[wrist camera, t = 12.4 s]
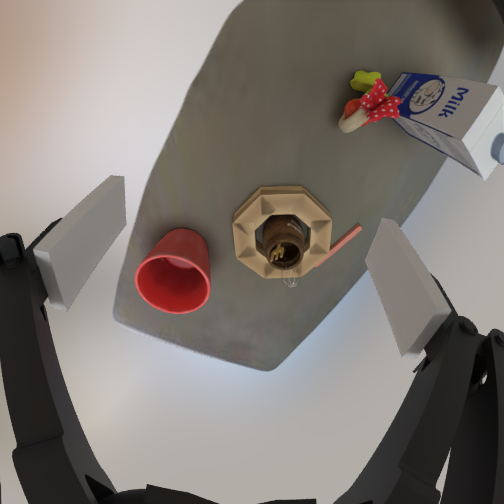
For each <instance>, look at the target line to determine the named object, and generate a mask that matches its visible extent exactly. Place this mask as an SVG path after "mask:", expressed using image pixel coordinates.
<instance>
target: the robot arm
mask: <svg viewBox="0 0 504 504" xmlns="http://www.w3.org/2000/svg"><path fill="white" fill-rule="evenodd" d="M492 1H493V3H494V5H495V7H496V9H497V11H498V13H499V15H500V17H501V19H502V22H503V24H504V0H492ZM125 226H126V210H125V188H124V176H113V175H111V176H110V177H109V178H107V179H106V180H105V181H104V182H102V183H101V184H100V185H99V186H98V187H97V188H96V189H94V191H92V192H91V193H90V194H89V195H88V196H86V197H85V198H84V199H83V200H82V201H81V202H80V203H79V204H78V205H77V206H75V207H74V208H73V209H72V210H71V211H70V212H69V213H68V214H67V215H66V216H65V217H64V218H60V219H58V220H56V221H54V222H52V223H51V224H50V225H49V226H48V227H47V228H46V229H45V231H43V232H42V233H41V234H40V236H38V237H37V238H36V239H35V240H34V241H33V242H32V243H31V244H30V245H29V247H27V248H26V250H25V247H24V244H23V241H22V237H21V235H20V234H18V233H9V234H6V235H3V236H1V237H0V362H1V369H2V377H3V383H4V389H5V395H6V400H7V405H8V410H9V414H10V419H11V423H12V427H13V431H14V434H15V438H16V442H17V447H16V449H14V450H13V452H12V458H13V462H14V467H15V469H16V472H17V475H18V478H19V481H20V484H21V486H22V489H23V491H24V494H25V496H26V499H27V501H28V503H29V504H219V503H215V502H213V501H210V500H207V499H204V498H202V497H199V496H196V495H194V494H191V493H188V492H183V491H177V490H171V489H167V488H162V487H157V486H153V485H149V484H147V487H146V489H134V490H128V491H123V492H119V493H117V491H116V489H115V488H114V486H113V484H112V483H111V481H110V479H109V478H108V476H107V475H106V473H105V472H104V470H103V469H102V468H101V467H100V465H99V463H98V461H97V460H96V458H95V456H94V454H93V452H92V450H91V447H90V445H89V443H88V441H87V439H86V436H85V434H84V432H83V429H82V427H81V425H80V422H79V420H78V417H77V415H76V412H75V410H74V407H73V404H72V401H71V399H70V396H69V393H68V390H67V387H66V384H65V381H64V378H63V375H62V372H61V368H60V365H59V362H58V358H57V355H56V351H55V347H54V343H53V339H52V335H51V331H50V326H49V322H48V317H47V312H46V308H45V306H44V302H45V300H46V299H47V297H48V298H49V300H50V303H51V305H52V307H53V308H56V309H59V310H63V311H66V312H67V311H68V310H69V308H70V306H71V305H72V303H73V302H74V300H75V298H76V297H77V295H78V294H79V292H80V290H81V289H82V287H83V286H84V284H85V283H86V281H87V280H88V278H89V277H90V275H91V274H92V272H93V271H94V269H95V268H96V266H97V265H98V263H99V262H100V260H101V259H102V257H103V256H104V255H105V253H106V252H107V250H108V249H109V247H110V246H111V245H112V243H113V242H114V240H115V239H116V238H117V236H118V235H119V234H120V232H121V231H122V230H123V228H124V227H125ZM365 263H366V265H367V267H368V270H369V272H370V274H371V277H372V279H373V282H374V284H375V286H376V289H377V291H378V294H379V296H380V299H381V302H382V304H383V307H384V309H385V312H386V315H387V317H388V320H389V323H390V325H391V328H392V331H393V334H394V336H395V339H396V342H397V345H398V348H399V351H400V354H401V357H402V358H417V356H418V355H419V354H420V353H421V351H422V350H423V349H424V350H425V352H426V357H425V358H424V359H423V360H422V361H421V363H420V364H419V365H418V366H417V367H416V368H415V370H414V371H413V372H414V373H415V372H416V371H417V370H418V371H417V374H416V376H415V378H414V380H413V382H412V385H411V387H410V389H409V391H408V393H407V395H406V397H405V399H404V401H403V403H402V405H401V407H400V409H399V411H398V413H397V414H396V416H395V418H394V420H393V422H392V424H391V425H390V427H389V429H388V431H387V432H386V434H385V436H384V438H383V439H382V441H381V443H380V444H379V446H378V448H377V449H376V451H375V453H374V454H373V455H372V457H371V459H370V460H369V462H368V463H367V465H366V466H365V468H364V469H363V471H362V472H361V474H360V475H359V476H358V478H357V479H356V481H355V482H354V483H353V485H352V486H351V487H350V488H349V490H348V491H347V492H345V493H344V494H343V495H342V496H341V497H339V498H338V499H337V500H336V501H335V502H334V503H333V504H438V503H439V501H440V497H441V495H440V494H441V493H440V491H438V490H437V489H436V483H437V480H438V478H439V476H440V473H441V471H442V469H443V466H444V463H445V461H446V459H447V456H448V454H449V451H450V448H451V451H450V458H449V464H448V470H447V475H446V480H445V484H444V489H443V493H442V498H441V502H440V504H504V333H503V332H502V331H500V330H498V329H492V330H491V331H490V333H489V334H488V335H487V336H484V335H481V334H479V333H478V330H477V328H476V326H475V325H474V324H473V322H471V321H470V320H469V319H467V318H466V317H464V316H458V314H457V312H456V311H455V309H454V307H453V305H452V303H451V302H450V300H449V298H448V297H447V295H446V293H445V291H444V290H443V288H442V286H441V285H440V283H439V281H438V280H437V279H436V278H435V277H434V276H433V275H432V274H431V273H429V271H428V270H427V268H426V266H425V265H424V263H423V262H422V260H421V259H420V257H419V255H418V254H417V252H416V251H415V249H414V248H413V246H412V245H411V243H410V242H409V240H408V239H407V237H406V236H405V235H404V233H403V232H402V230H401V229H400V227H399V226H398V225H397V223H396V222H395V221H394V220H390V219H386V218H382V220H381V223H380V225H379V228H378V230H377V233H376V235H375V238H374V240H373V243H372V245H371V247H370V250H369V252H368V255H367V257H366V259H365ZM486 375H487V378H486V381H485V383H484V384H483V383H482V379H483V378H484V377H485V376H486ZM0 504H1V484H0ZM259 504H316V499H299V500H274V501H269V502H264V503H259Z"/></svg>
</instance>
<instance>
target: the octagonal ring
mask: <svg viewBox="0 0 504 504" xmlns="http://www.w3.org/2000/svg"><path fill="white" fill-rule="evenodd" d="M280 214H295V215H296V216H298V217H299V218H300V219H301V220H302V221H303V222H304V223H306V224H307V225H308V233H307V238H306V239H305V240H304V242H305V246H304V256H303V259H302V261H301V263H300V264H299V265H298V266H297V267H295V268H294V269H291V270H282V271H281V270H278V269H276V268H274V267H272V266H271V265H270V264H269V263H268V261H267V258H266V254H265V251H264V248H263V245H262V244H261V243H260V242H259V241H257V240H256V232H255V229H257V228H258V227H259V226H260V225H261V224H262V223H263V222H264V221H265V220H266V219H267V218H268V217H269V216H270V215H280ZM331 227H332V219H331V217H330V214H329V212H328V210H327V209H326V208H325V207H323V206H322V205H321V204H320V203H319V202H318V201H317V200H316V199H315V198H314V197H313V196H312V195H311V194H310V193H309V192H308V191H306V190H305V189H304V188H303V187H302V186H272V187H260V188H259V189H258V190H257V191H256V192H255V193H254V194H253V195H252V196H251V197H250V198H249V199H248V200H247V201H246V202H245V203H244V204H243V205H242V206H241V207H240V208H239V209H238V211H237V212H236V213H235V214H234V217H233V233H234V242H235V252H236V258H237V259H238V260H240V261H241V262H243V263H244V264H245V265H247V266H248V267H250V268H251V269H252V270H254V271H255V272H256V273H258V274H259V275H261V276H262V277H263V278H286V277H292V276H293V277H302V276H303V275H304V274H306V273H307V272H308V271H309V270H310V269H312V268H313V267H314V266H315V265H317V264H318V263H319V262H320V261H321V260H323V259H324V258H325V257H326V256H327V255H329V250H330V239H331ZM297 268H298V269H297ZM295 269H296V270H295ZM296 271H297V272H296ZM287 272H288V274H287ZM291 272H292V273H291ZM298 272H299V274H298ZM281 273H282V275H283V277H282V275H281ZM294 273H295V276H294ZM297 274H298V275H297Z"/></svg>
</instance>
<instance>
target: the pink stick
mask: <svg viewBox="0 0 504 504" xmlns="http://www.w3.org/2000/svg"><path fill="white" fill-rule="evenodd" d="M361 230H362V227H361V226H360V225H359V224H357V225H356V226H354V227H353V228H352V229H351V230H350V231H349V232H347V233H346V234H345V235H344V236H343V237H342V238H340V239H339V240H338V241H337V242H336V243H335V244H333V245H332V246H331V247H330V250H329V255H327V256H326V257H325V258H324V259H323V260H321V261H320V262H319V263H318V264H317V265H315V267H318V266H319V265H320V264H321V263H322V262H324V261H325V260H326V259H327V258H329V257H330V256H331V255H332V254H333V253H335V252H336V251H337V250H338V249H339V248H341V247H342V246H343V245H344V244H345V243H346V242H348V241H349V240H350V239H351V238H352V237H354V236H355V235H356V234H357V233H358V232H359V231H361Z"/></svg>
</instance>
